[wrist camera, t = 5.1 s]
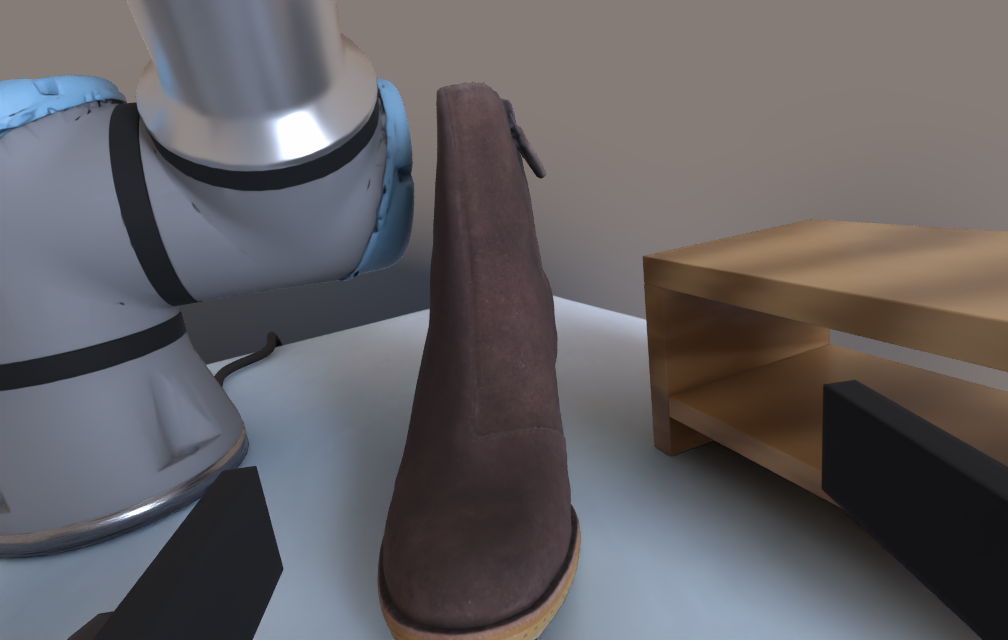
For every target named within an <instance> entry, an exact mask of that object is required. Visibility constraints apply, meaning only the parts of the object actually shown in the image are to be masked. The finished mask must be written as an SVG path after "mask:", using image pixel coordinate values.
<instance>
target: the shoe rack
mask: <svg viewBox="0 0 1008 640" xmlns="http://www.w3.org/2000/svg"><path fill="white" fill-rule="evenodd" d="M643 269H644V283H645V284H644V289H645V304H646V305H645V306H646V321H647V337H648V353H649V369H650V385H651V401H652V416H653V432H654V446H655V447H657V448H658V449H660V450H662V451H663V452H665V453H666V454H668V455H670V456H673V455H676V454H679V453H682V452H684V451H687V450H690V449H692V448H695V447H698V446H700V445H703V444H706V443H709V442H711V441H714V440H715V441H716V442H718V443H720V444H722V445H724V446H726V447H728V448H729V449H731V450H733V451H735V452H737V453H739V454H741V455H743V456H744V457H746V458H748V459H750V460H752V461H754V462H756V463H758V464H759V465H761V466H763V467H765V468H767V469H769V470H771V471H772V472H774V473H776V474H778V475H780V476H782V477H784V478H786V479H787V480H789V481H791V482H793V483H795V484H797V485H799V486H801V487H802V488H804V489H806V490H808V491H810V492H812V493H814V494H815V495H817V496H819V497H821V498H823V499H825V500H827V501H829V502H830V503H832V504H834V505H836V506H838V507H840V506H839V505H838V504H837V503H836V502H835V501H834V500H833V499H832V498H830V497H829V496H828V495H827V494H826V493H825V492H824V491H823V490H822V489H821V486H822V427H823V384H829V383H836V382H843V381H850V380H857V381H859V382H860V383H862V384H864V385H866V386H867V387H869V388H871V389H873V390H874V391H876V392H878V393H880V394H881V395H883V396H885V397H887V398H888V399H890V400H892V401H894V402H895V403H897V404H899V405H901V406H902V407H904V408H906V409H908V410H909V411H911V412H913V413H915V414H916V415H918V416H920V417H922V418H923V419H925V420H927V421H929V422H930V423H932V424H934V425H936V426H937V427H939V428H941V429H942V430H944V431H946V432H948V433H949V434H951V435H953V436H955V437H956V438H958V439H960V440H962V441H963V442H965V443H967V444H969V445H970V446H972V447H974V448H976V449H977V450H979V451H981V452H983V453H984V454H986V455H988V456H990V457H991V458H993V459H995V460H997V461H998V462H1000V463H1002V464H1004V465H1005V466H1007V467H1008V392H1006V391H1002V390H999V389H995V388H991V387H987V386H984V385H980V384H976V383H972V382H969V381H965V380H961V379H958V378H954V377H950V376H947V375H943V374H939V373H935V372H932V371H928V370H924V369H921V368H917V367H913V366H910V365H906V364H902V363H898V362H895V361H891V360H887V359H884V358H880V357H876V356H872V355H869V354H865V353H861V352H857V351H854V350H850V349H846V348H843V347H839V346H835V345H831V344H829V341H830V329H833V330H837V331H841V332H846V333H850V334H854V335H858V336H862V337H866V338H870V339H874V340H878V341H882V342H887V343H891V344H895V345H899V346H903V347H907V348H911V349H915V350H920V351H924V352H928V353H932V354H936V355H940V356H944V357H948V358H952V359H956V360H961V361H964V362H969V363H973V364H977V365H981V366H985V367H989V368H993V369H998V370H1001V371H1006V372H1008V232H1006V231H989V230H973V229H956V228H940V227H925V226H909V225H893V224H892V225H891V224H876V223H860V222H845V221H829V220H812V219H810V220H806V221H801V222H796V223H792V224H787V225H783V226H778V227H773V228H769V229H764V230H760V231H755V232H751V233H746V234H742V235H737V236H732V237H728V238H724V239H719V240H714V241H710V242H705V243H700V244H696V245H691V246H687V247H682V248H678V249H673V250H668V251H664V252H659V253H655V254H650V255H646V256H643ZM840 508H841V507H840Z"/></svg>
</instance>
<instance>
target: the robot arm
mask: <svg viewBox="0 0 1008 640" xmlns="http://www.w3.org/2000/svg"><path fill="white" fill-rule="evenodd" d="M126 2H127V5H128V7H129V9H130V11H131V13H132V16H133V18H134V20H135V23H136V25H137V27H138V29H139V31H140V34H141V36H142V38H143V41H144V43H145V45H146V47H147V50H148V52H149V54H150V56H151V60H150V61H149V63H148V64H147V65H146V67H145V68H144V70H143V72H142V74H141V76H140V78H139V82H138V85H137V92H136V101H137V103H127V102H126V98H125V96H124V95H123V94H122V93H120V92H119V91H118V88H117V87H116V86H115V85H114V84H113V83H112V82H110V81H108V80H106V79H103V78H99V77H93V76H80V75H60V76H52V77H46V78H42V79H32V80H30V79H26V78H23V79H13V80H5V81H0V558H25V557H35V556H42V555H49V554H54V553H59V552H64V551H69V550H73V549H77V548H81V547H85V546H88V545H92V544H95V543H98V542H102V541H105V540H108V539H111V538H114V537H117V536H119V535H122V534H125V533H127V532H130V531H133V530H135V529H138V528H140V527H143V526H145V525H147V524H150V523H152V522H154V521H156V520H159V519H161V518H163V517H165V516H167V515H169V514H171V513H173V512H175V511H177V510H179V509H181V508H182V507H184V506H186V505H188V504H190V503H191V502H193V501H195V500H196V499H198V498H200V497H201V496H203V497H202V498H201V499H200V500H199V502H198V503H197V504H196V506H195V507H194V508H193V510H192V511H191V512H190V513H189V515H188V516H187V517H186V519H185V520H184V521H183V523H182V524H181V525H180V526H179V528H178V529H177V530H176V532H175V533H174V534H173V536H172V537H171V538H170V539H169V541H168V542H167V543H166V545H165V546H164V547H163V549H162V550H161V551H160V552H159V554H158V555H157V556H156V558H155V559H154V560H153V562H152V563H151V564H150V565H149V567H148V568H147V569H146V571H145V572H144V573H143V575H142V576H141V577H140V578H139V580H138V581H137V582H136V584H135V585H134V586H133V588H132V589H131V590H130V591H129V593H128V594H127V595H126V597H125V598H124V599H123V601H122V602H121V603H120V604H119V606H118V607H117V608H116V610H115V611H114V612H107V613H101V614H98V615H97V616H95V617H94V618H93V619H92V620H90V621H89V622H88V623H87V624H85V625H84V626H83V627H82V628H80V629H79V630H78V631H77V632H75V633H74V634H73V635H72V636H70V637H69V638H68V639H67V640H253V638H254V635H255V633H256V631H257V628H258V626H259V624H260V622H261V619H262V617H263V615H264V612H265V610H266V608H267V606H268V603H269V601H270V599H271V596H272V594H273V592H274V590H275V587H276V585H277V583H278V580H279V578H280V576H281V574H282V571H283V566H282V562H281V558H280V554H279V550H278V547H277V543H276V539H275V535H274V531H273V528H272V524H271V520H270V516H269V512H268V509H267V505H266V501H265V497H264V493H263V490H262V486H261V482H260V478H259V474H258V471H257V467H256V466H252V467H245V468H238V469H236V468H237V467H238V466H239V465H240V464H241V462H242V461H243V459H244V458H245V456H246V454H247V451H248V448H249V442H248V438H247V434H246V430H245V426H244V422H243V421H242V419H241V416H240V414H239V412H238V410H237V409H236V407H235V406H234V404H233V403H232V401H231V400H230V399H229V397H228V396H227V394H226V393H225V392H224V390H223V389H222V385H223V381H224V379H225V378H226V377H227V376H228V375H229V374H231V373H233V372H234V371H236V370H238V369H241V368H243V367H245V366H248V365H250V364H252V363H255V362H257V361H259V360H261V359H263V358H265V357H267V356H268V355H270V354H271V353H272V352H273V350H274V349H275V347H279V346H283V345H282V343H281V341H280V339H279V338H278V336H277V335H276V334H275V333H274V332H270V333H268V335H267V345H266V347H265V348H263V349H262V350H260V351H258V352H256V353H253V354H251V355H249V356H246V357H244V358H241V359H239V360H236V361H234V362H232V363H230V364H228V365H226V366H225V367H223V368H222V369H220V370H219V371H218V372H217V374H216V375H215V376H213V375H212V373H211V372H210V370H209V369H208V368H207V366H206V365H205V363H204V362H203V361H202V359H201V358H200V356H199V355H198V353H197V352H196V351H195V349H194V348H193V347H192V344H191V342H190V340H189V337H188V335H187V331H186V327H185V324H184V320H183V317H182V313H181V308H180V305H185V304H190V303H196V302H202V301H207V300H213V299H219V298H226V297H233V296H239V295H246V294H251V293H258V292H265V291H271V290H277V289H284V288H291V287H297V286H304V285H310V284H317V283H323V282H330V281H336V280H341V281H344V280H349V279H352V278H354V277H355V276H357V275H359V274H363V273H367V272H372V271H376V270H380V269H385V268H388V267H390V266H392V265H394V264H395V263H396V262H398V261H399V260H400V259H401V257H402V256H403V255H404V253H405V251H406V249H407V247H408V244H409V241H410V237H411V231H412V225H413V214H414V183H413V180H412V176H411V171H412V148H411V139H410V133H409V127H408V121H407V117H406V113H405V110H404V106H403V103H402V100H401V97H400V94H399V92H398V91H397V89H396V87H395V86H394V85H393V84H392V83H391V82H389V81H387V80H384V79H378V78H376V75H375V71H374V68H373V66H372V64H371V62H370V61H369V59H368V57H367V56H366V55H365V53H364V52H363V51H362V50H361V49H360V48H359V47H358V46H357V45H356V44H355V43H354V42H353V41H352V40H350V39H349V38H347V37H346V36H344V35H343V34H341V33H340V26H339V19H338V11H337V5H336V0H126ZM821 489H822V490H823V491H824V492H825V493H826V494H827V495H828V496H829V497H830V498H832V499H833V500H834V501H835V502H836V503H837V504H838V505H839V506H840V507H841V508H842V509H843V510H844V511H845V512H847V513H848V514H849V515H850V516H851V517H852V518H853V519H854V520H855V521H856V522H857V523H858V524H859V525H860V526H862V527H863V528H864V529H865V530H866V531H867V532H868V533H869V534H870V535H871V536H872V537H873V538H874V539H876V540H877V541H878V542H879V543H880V544H881V545H882V546H883V547H884V548H885V549H886V550H887V551H888V552H889V553H891V554H892V555H893V556H894V557H895V558H896V559H897V560H898V561H899V562H900V563H901V564H902V565H903V566H904V567H906V568H907V569H908V570H909V571H910V572H911V573H912V574H913V575H914V576H915V577H916V578H917V579H918V580H919V581H921V582H922V583H923V584H924V585H925V586H926V587H927V588H928V589H929V590H930V591H931V592H932V593H933V594H935V595H936V596H937V597H938V598H939V599H940V600H941V601H942V602H943V603H944V604H945V605H946V606H947V607H948V608H950V609H951V610H952V611H953V612H954V613H955V614H956V615H957V616H958V617H959V618H960V619H961V620H962V621H963V622H965V623H966V624H967V625H968V626H969V627H970V628H971V629H972V630H973V631H974V632H975V633H976V634H977V635H978V636H980V637H981V638H982V639H983V640H1008V467H1007V466H1005V465H1004V464H1002V463H1000V462H998V461H997V460H995V459H993V458H991V457H990V456H988V455H986V454H984V453H983V452H981V451H979V450H977V449H976V448H974V447H972V446H970V445H969V444H967V443H965V442H963V441H962V440H960V439H958V438H956V437H955V436H953V435H951V434H949V433H948V432H946V431H944V430H942V429H941V428H939V427H937V426H936V425H934V424H932V423H930V422H929V421H927V420H925V419H923V418H922V417H920V416H918V415H916V414H915V413H913V412H911V411H909V410H908V409H906V408H904V407H902V406H901V405H899V404H897V403H895V402H894V401H892V400H890V399H888V398H887V397H885V396H883V395H881V394H880V393H878V392H876V391H874V390H873V389H871V388H869V387H867V386H866V385H864V384H862V383H860V382H859V381H857V380H850V381H843V382H836V383H829V384H823V427H822V486H821Z"/></svg>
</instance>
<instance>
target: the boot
mask: <svg viewBox="0 0 1008 640" xmlns="http://www.w3.org/2000/svg"><path fill="white" fill-rule="evenodd" d="M436 105H437V133H438V134H437V169H436V182H435V207H434V224H433V227H434V228H433V251H432V259H431V271H430V318H429V328H428V333H427V338H426V342H425V346H424V351H423V356H422V361H421V366H420V371H419V376H418V380H417V385H416V391H415V396H414V402H413V408H412V414H411V420H410V425H409V430H408V435H407V440H406V445H405V449H404V453H403V458H402V461H401V464H400V467H399V471H398V474H397V477H396V481H395V487H394V492H393V496H392V500H391V504H390V507H389V511H388V516H387V520H386V526H385V532H384V536H383V540H382V544H381V549H380V556H379V564H378V593H379V599H380V605H381V610H382V613H383V616H384V619H385V621H386V623H387V625H388V627H389V629H390V631H391V633H392V636H393V637H394V639H395V640H534V639H537V638H538V637H539V636H540V635H541V633H542V632H543V631H544V629H545V628H546V627H547V625H548V624H549V623H550V622H551V620H552V619H553V618H554V616H555V615H556V613H557V612H558V610H559V608H560V607H561V605H562V603H563V602H564V600H565V598H566V596H567V594H568V591H569V589H570V587H571V584H572V582H573V579H574V575H575V571H576V567H577V563H578V558H579V552H580V540H581V534H580V527H579V521H578V517H577V514H576V512H575V510H574V508H573V506H572V505H571V489H570V483H569V477H568V471H567V452H566V442H565V437H564V434H563V427H562V420H561V413H560V407H559V397H558V390H557V378H556V370H555V363H556V358H557V339H558V338H557V331H556V325H555V315H554V301H553V295H552V291H551V287H550V284H549V281H548V279H547V277H546V275H545V273H544V271H543V268H542V263H541V257H540V252H539V246H538V241H537V237H536V231H535V224H534V217H533V211H532V204H531V197H530V193H529V188H528V183H527V179H526V175H525V172H524V167H523V162H522V158H521V155H522V157H523V158H524V159H525V160H526V162H527V163H528V164H529V166H530V168H531V169H532V170H533V172H534V173H535V175H536V176H537V177H539V178H543V177H544V176H545V175H546V172H545V170H544V168H543V165H542V163H541V162H540V160H539V158H538V157H537V155H536V153H535V152H534V150H533V148H532V147H531V145H530V143H529V142H528V140H527V139H526V137H525V135H524V132H523V130H522V129H521V128H520V127H519V126H517V124H516V121H515V114H514V111H513V108H512V105H511V103H510V101H508V100H505V99H501V98H500V97H499V95H498V94H497V92H495V91H493V90H492V88H491V87H489V86H488V85H486V84H484V83H474V82H472V83H462V84H458V85H450V86H446V87H442V88H440V89H439V90H438V91H437V103H436ZM520 153H521V154H520Z"/></svg>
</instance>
